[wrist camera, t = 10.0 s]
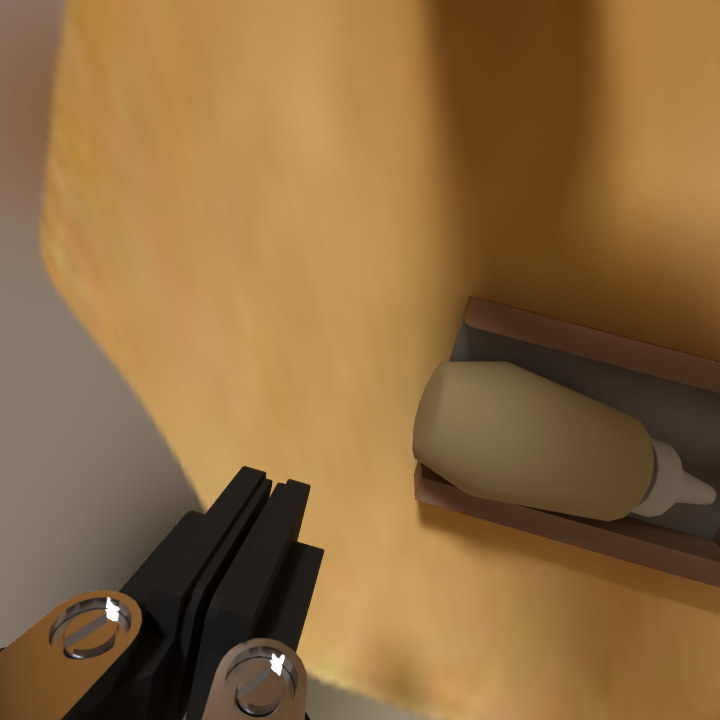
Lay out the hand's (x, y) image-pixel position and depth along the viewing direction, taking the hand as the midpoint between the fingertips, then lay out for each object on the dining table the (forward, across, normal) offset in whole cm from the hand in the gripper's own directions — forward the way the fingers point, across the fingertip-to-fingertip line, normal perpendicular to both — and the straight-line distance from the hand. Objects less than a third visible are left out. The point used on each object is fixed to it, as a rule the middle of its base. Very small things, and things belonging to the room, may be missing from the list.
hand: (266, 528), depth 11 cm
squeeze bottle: (+15, -5, +1) cm, 16 cm away
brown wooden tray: (+20, -17, +1) cm, 27 cm away
